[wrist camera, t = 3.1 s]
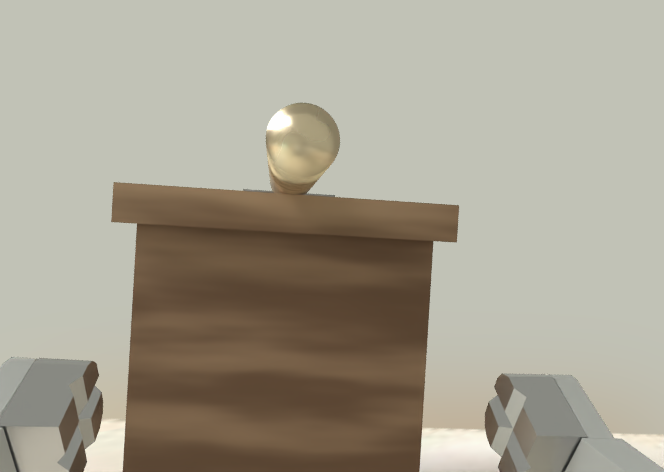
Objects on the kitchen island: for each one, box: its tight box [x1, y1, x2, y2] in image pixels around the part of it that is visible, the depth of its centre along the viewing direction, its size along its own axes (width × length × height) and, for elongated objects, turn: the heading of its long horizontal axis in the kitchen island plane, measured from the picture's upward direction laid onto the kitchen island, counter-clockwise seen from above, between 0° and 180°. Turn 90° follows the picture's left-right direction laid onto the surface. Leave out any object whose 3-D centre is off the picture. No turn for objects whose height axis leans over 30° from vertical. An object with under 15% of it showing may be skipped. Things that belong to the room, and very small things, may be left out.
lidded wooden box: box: [111, 182, 459, 472], centre depth 36 cm, size 18×18×26 cm
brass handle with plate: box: [243, 103, 340, 197], centre depth 30 cm, size 24×6×3 cm, turn 6°
